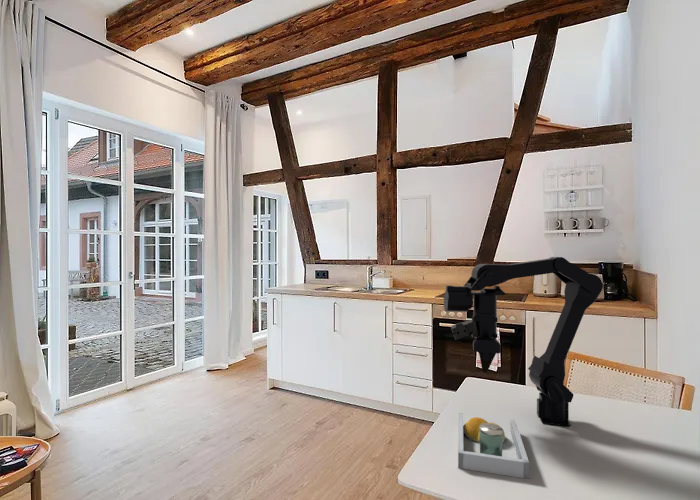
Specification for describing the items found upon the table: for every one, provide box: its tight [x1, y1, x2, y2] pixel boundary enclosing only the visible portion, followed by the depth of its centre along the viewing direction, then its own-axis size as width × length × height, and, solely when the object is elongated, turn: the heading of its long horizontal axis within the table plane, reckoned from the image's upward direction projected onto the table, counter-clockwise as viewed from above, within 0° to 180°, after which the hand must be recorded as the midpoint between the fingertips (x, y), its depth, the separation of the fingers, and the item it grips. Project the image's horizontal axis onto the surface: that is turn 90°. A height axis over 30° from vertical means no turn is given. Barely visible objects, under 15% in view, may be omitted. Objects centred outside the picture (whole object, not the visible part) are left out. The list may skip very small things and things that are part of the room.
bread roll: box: [463, 416, 506, 444], centre depth 89 cm, size 8×9×4 cm
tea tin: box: [479, 422, 504, 457], centre depth 80 cm, size 5×5×6 cm
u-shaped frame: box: [457, 412, 530, 480], centre depth 84 cm, size 13×20×3 cm, turn 164°
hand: (484, 372), depth 100 cm, fingers closed
